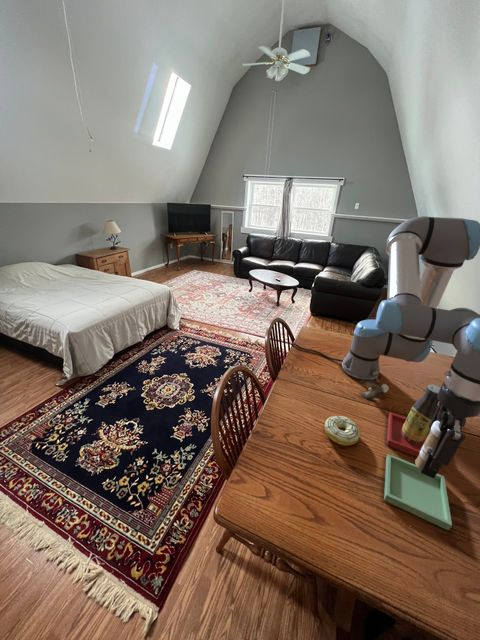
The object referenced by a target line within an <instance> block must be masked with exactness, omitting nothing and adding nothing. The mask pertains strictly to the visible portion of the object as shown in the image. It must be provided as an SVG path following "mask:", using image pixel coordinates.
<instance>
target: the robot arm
mask: <svg viewBox="0 0 480 640" xmlns="http://www.w3.org/2000/svg"><path fill="white" fill-rule="evenodd" d="M479 251H480V222H479V221H478V220H475V219H470V218H469V219H467V218H463V217H461V218H460V217H443V216H442V217H441V216H439V217H438V216H427V215H425V216H424V215H422V216H416V217H412V218H410V219H407V220H405V221H404V222H401V223H400V224H399V225H397V226H396V227H395V228H394V229H393V230H392V231H391V233H390V234H389V236H388V237H387V239H386V244H385V253H386V254H387V256H388V273H387V294H386V295H387V296H386V299H385V300H381V302H380V303H379V305H378V308H377V312H376V316H375V319H364V320H361V321H358V322H357V324H356V325H355V329H354V331H353V337H352V341H351V345H350V349H349V352H348V353H347V354H346V356H345V357H344V358H343V359H339V358H334V357H331V356H328V355H326V354H325V353H322V352H320V351H318V350H315V349H310V348H305V347H301V346H300V345H298V344H297V343H295V342H292V343H290V345H291V346H293V345H294V346H296V348H298V349H300V350H303V351H308V352H312V353H316V354H319V355H321V356H323V357H325V358H326V359H329V360H331V361H336V362H340V363H341V369H342V371H343V372H344V373H345V374H346V375H347V376H349V377H350V378H353V379H356V380H359V381H362V380H364V379H371V380H373V381H375V380H376V381H377V378H378V379H379V376H380V361H379V359H380V356H383V357H388V358H392V359H398V360H403V361H405V362H409V363H411V362H412V363H421V362H423V361H425V360H426V359H427V357H428V356H429V355H430V353H431V350H432V346H433V342H438V343H443V344H449V345H452V346H453V347H454V349H455V350H456V353H455V355H454V357H453V360H452V362H451V365H450V367H449V370H445V371H444V373H443V374H444V376H445V378H444V382H443V383H442V384H441V386H440V390H439V393H438V395H437V398H438V400H439V402H438V404H437V405H438V407H437V409H436V411H435V413H434V416H433V418H432V420H431V422H430V424H429V429H430V431H431V427H432V425H433V423H434V422H435V421H440V425H439V429H440V434H439V436H438V438H437V440H436V443H435V446H434V448H433V451H432V452H429V451H428V457H427V459H426V461H425V463H424V465H423V467H422V469H421V473H422V474H425V475H427V476H429V477H432V478H435V476H436V474H438V472H439V470H440V469H441V467H442V466H444V467H448V466H449V465H450V463H451V461H452V459H453V458H454V456H455V454H456V452H457V450H458V449H459V447H460V445H461V444H462V443H463V442H464V441H465V440H466V434H465V433H462V432H461V431H462V430H463V429H462V428H464V427H465V425H466V423H467V418H475V417H478V416H480V313H478V312H476V311H475V310H473V309H471V308H468V307H456V308H451V309H445V308H444V309H443V308H438V307H439V305H440V303H441V300H442V298H443V295H444V293H445V292H446V289H447V287H448V284H449V282H450V280H451V279H452V276H453V273H454V272H455V270H458V269H460V268H462V267H463V266H464V263H465V262H466V261H470V260H471V261H472V260H473V259H475V257H476V256H477V255H478V253H479ZM420 262H421V263H422V264H423V266H422V267H421V270H420ZM430 431H429V432H428V434H429V433H430Z"/></svg>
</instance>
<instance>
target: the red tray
mask: <svg viewBox="0 0 480 640" xmlns="http://www.w3.org/2000/svg"><path fill="white" fill-rule="evenodd" d="M406 419H407V417H405V416H402V415H399V414H396V413H393V412H389V414H388V417H387V433H386V434H387V435H386V436H387V437H386V446H389V447H391V448H393V449H396V450H399V451H401V452H403V453H406V454H409V455H411V456H414V457H416V458H418V456H419V454H420V451H421V449H422V447H423V445H424V443H425V441H426V439H427V437H428V435H429V434H428V433H427V435H426V437H425V439H424V440H423V441H422V443H420V444H413V443H411V442H409V441H407V440H406V439H405V438H404V437H403V436H402V433H401V431H402V427H403V425H404V423H405V421H406ZM429 431H430V430H429Z"/></svg>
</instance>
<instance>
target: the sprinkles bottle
mask: <svg viewBox="0 0 480 640" xmlns="http://www.w3.org/2000/svg"><path fill="white" fill-rule="evenodd" d="M439 425H440V421H435V422H434V423H433V425H432V427H431V431H430V433H429V435H428V437H427V439H426V441H425V443H424V445H423V447H422V449H421V451H420V454H419V456H418V457H416V459H415V460H414V463H415V465H416V466H417V468H418V469H419V470H420V471H421V469H422V467H423V465H424V463H425V461H426V459H427V457H428V451H429V452H432V451H433V448H434V446H435V443H436V440H437V438H438V436H439V434H440V429H439Z"/></svg>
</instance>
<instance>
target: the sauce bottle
mask: <svg viewBox="0 0 480 640" xmlns="http://www.w3.org/2000/svg"><path fill="white" fill-rule="evenodd" d="M440 388H441V386H438V385H435V384H428V385H427V387H426V388H425V392H424V394H423V396H421V397H420V398H418V399H416V401H415V403H414V404H413V405H412V407H411V409H410V411H409V413H408V415H407V417H406V418H407V419H406V421H405V423H404V425H403V427H402V431H401V433H402V436H403V437H404V438H405V439H406V440H407V441H409V442H411V443H413V444H420V443H422V441H423V440H424V439H425V437H426V435H427V433H428V432H429V430H430V429H429V424H430V422H431V420H432V418H433V416H434V413H435V411H436V409H437V407H438V405H439V400H438V398H437V395H438V393H439V390H440Z"/></svg>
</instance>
